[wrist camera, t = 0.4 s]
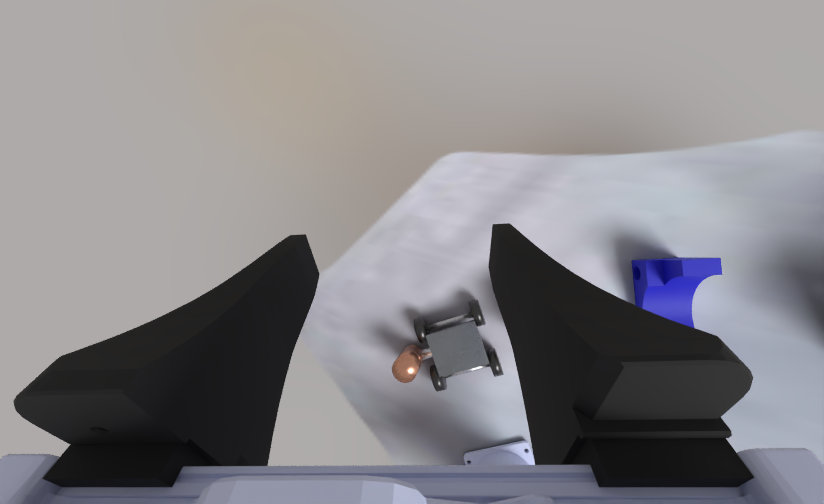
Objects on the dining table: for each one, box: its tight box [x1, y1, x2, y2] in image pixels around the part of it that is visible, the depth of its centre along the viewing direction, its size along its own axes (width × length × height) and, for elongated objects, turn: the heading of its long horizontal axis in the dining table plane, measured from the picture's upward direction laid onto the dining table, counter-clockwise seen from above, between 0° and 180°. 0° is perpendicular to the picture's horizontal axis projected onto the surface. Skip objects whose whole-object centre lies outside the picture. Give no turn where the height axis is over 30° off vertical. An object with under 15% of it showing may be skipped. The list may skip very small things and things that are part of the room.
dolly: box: [414, 300, 503, 392], centre depth 36 cm, size 9×8×3 cm
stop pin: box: [392, 345, 432, 383], centre depth 35 cm, size 3×8×5 cm, turn 109°
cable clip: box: [632, 258, 722, 328], centre depth 30 cm, size 12×4×6 cm, turn 4°
